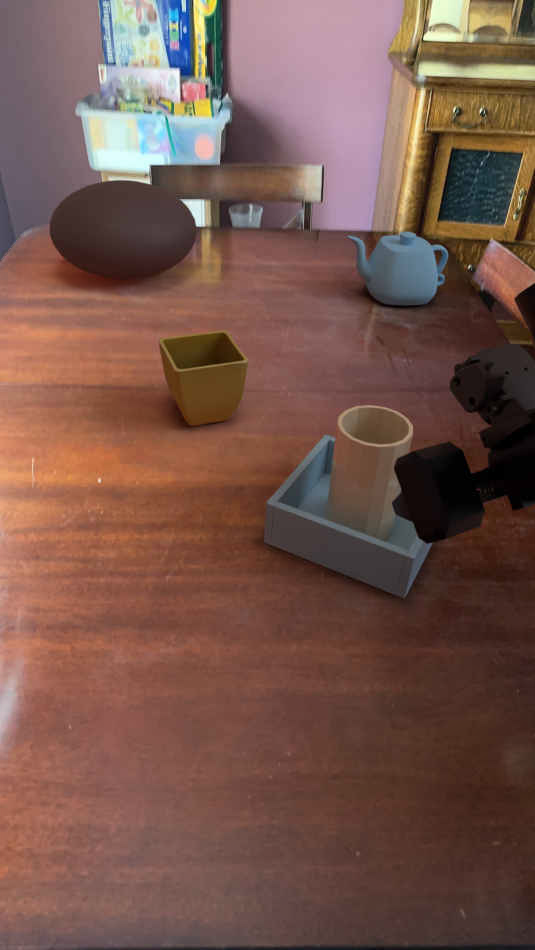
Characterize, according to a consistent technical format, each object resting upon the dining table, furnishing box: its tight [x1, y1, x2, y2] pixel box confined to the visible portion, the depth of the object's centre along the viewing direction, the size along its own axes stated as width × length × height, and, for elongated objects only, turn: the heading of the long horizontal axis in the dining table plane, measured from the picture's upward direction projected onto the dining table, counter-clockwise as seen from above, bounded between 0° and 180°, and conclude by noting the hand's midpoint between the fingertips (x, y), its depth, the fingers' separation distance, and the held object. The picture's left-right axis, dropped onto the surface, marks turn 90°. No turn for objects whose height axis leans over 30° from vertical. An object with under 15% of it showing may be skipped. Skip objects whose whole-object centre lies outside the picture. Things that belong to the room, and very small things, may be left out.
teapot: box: [347, 231, 449, 306], centre depth 115 cm, size 13×11×18 cm
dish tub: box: [263, 434, 433, 599], centre depth 67 cm, size 15×14×5 cm
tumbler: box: [325, 404, 414, 541], centre depth 65 cm, size 7×7×12 cm
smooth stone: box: [49, 179, 198, 280], centre depth 117 cm, size 25×25×15 cm
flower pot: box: [158, 330, 249, 427], centre depth 82 cm, size 9×9×9 cm
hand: (436, 494), depth 57 cm, fingers open, 9 cm apart
